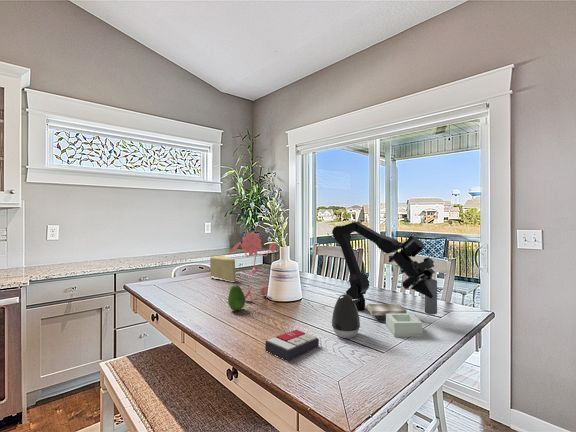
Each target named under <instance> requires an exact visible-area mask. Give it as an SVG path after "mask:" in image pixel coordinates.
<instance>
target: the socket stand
mask: <svg viewBox="0 0 576 432" xmlns="http://www.w3.org/2000/svg"><path fill="white" fill-rule="evenodd" d="M385 326H386V328H387V330H388V331H389V332H390V334H392V336H393V337H394V338H398V337H399V338H400V337H402V338H404V337H407V338H408V337H409V338H410V337H423V322H422V321H421V319H419V318H418V317H416V315H414V314H413V313H412V312H409V313H408V312H407V313H395V314H386V320H385Z"/></svg>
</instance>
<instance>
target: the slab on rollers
mask: <svg viewBox="0 0 576 432" xmlns="http://www.w3.org/2000/svg"><path fill="white" fill-rule="evenodd" d="M366 309H367V310H368V312H369V313H370V315H371V316H376V319H377V320H380V321H381V320H385V321H386V314H395V313H408V312H407V309H405V308H404V306H402V305H401V304H400V303H367V304H366Z"/></svg>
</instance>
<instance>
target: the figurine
mask: <svg viewBox="0 0 576 432" xmlns="http://www.w3.org/2000/svg"><path fill="white" fill-rule="evenodd" d="M241 240H242V243H241V241H239V242H237V243H236V244H235V245H234V246H233V247H232V249H230V252H229V254H232V253H233V252H235V251H236V250H237V249H238V248H239V247H241V249H242V250H243V253H244V255H245V257H246V258H249V257H252V256H253V257H254V260H253V268H252V269H251V272H250V274H249V276H248V277H247V292H246V293H245V294H244V296H245V300H246V299H247V298H248V297H250V302H251V301H253V298H252V293H251V291H252V290H251V289H250V283H249V282H250V281H249V279H250V277H251V275H252V274H257V273H259V274H262V275H263V287H262V288H261V289H260V294H261V295H262V296H265V298H266V299H267V298H268V295H267V292H268V287H267V286H265V284H266V283H265V281H266V274H265V273H262V272H260V271H258V269H257V268H255V266H256V258H257V255H258V256H260V257H261V256H262V257H267V256H268V254H269V252H270V251H271V252H273V253H274V252H275V251H276V249H277V245H276V243H274V242H272V243H270V244H269V246H268V248H269V249H268V250H267V253H266V254H260V253H258V250H261V249H262V248H263V247H262V244H261V243H262V239H261V238H260V233H258V232H257V233H255V231H254V230H253V231H251V232H250V231H246V234H245V236H242V239H241ZM247 253H248V254H249V255H248V254H247Z"/></svg>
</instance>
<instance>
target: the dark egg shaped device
mask: <svg viewBox="0 0 576 432" xmlns="http://www.w3.org/2000/svg"><path fill="white" fill-rule="evenodd" d="M358 301H360V300H359V298H357V299H352V297H351V296H350V295H347V294H346V293H344V294H341V295H339V297H338V299H337V300H336V302H335V305H334V307H333V310H332V311H333V312H332V318H331V327H332V329H333V332H334V333H335V335H336V336H338V337H340V338H343V339H351V338H354V337H355V336H357V334H358V333H359V329H360V328H361V321H360V320H361V319H360V313H359V310H357V307H356V305H355V303H356V302H358Z"/></svg>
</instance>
